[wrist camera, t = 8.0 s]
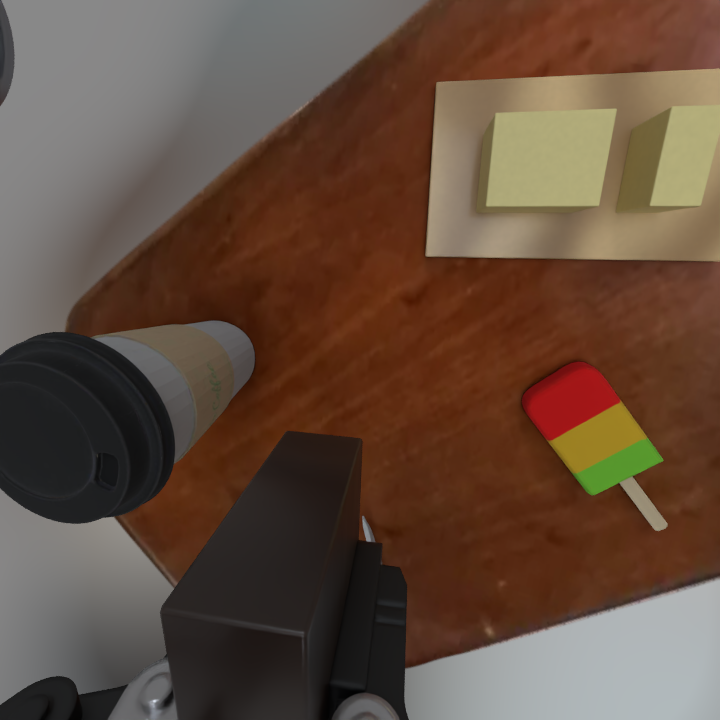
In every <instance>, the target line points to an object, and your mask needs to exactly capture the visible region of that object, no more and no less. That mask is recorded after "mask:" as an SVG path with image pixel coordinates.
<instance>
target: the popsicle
mask: <svg viewBox="0 0 720 720" xmlns="http://www.w3.org/2000/svg"><path fill="white" fill-rule="evenodd" d="M522 405H523V408H524V410H525V412H526V413H527V415H528V417H529V418H530V419H531V421H532V422H533V423H534V425H535V426H536V427H537V428H538V430H539V431H540V432H541V434H542V435H543V436H544V438H545V439H546V440H547V441H548V443H549V444H550V445H551V447H552V448H553V449H554V451H555V452H556V453H557V454H558V456H559V457H560V458H561V460H562V461H563V462H564V464H565V465H566V466H567V467H568V469H569V470H570V471H571V473H572V474H573V475H574V477H575V478H576V479H577V480H578V482H579V483H580V484H581V486H582V487H583V488H584V490H585V491H586V492H587V493H588V494H590V495H595V494H598V493H600V492H602V491H604V490H606V489H608V488H610V487H612V486H614V485H616V484H618V483H620V485H621V486H622V487H623V489H624V490H625V491H626V493H627V494H628V495H629V497H630V498H631V499H632V501H633V502H634V503H635V505H636V506H637V507H638V509H639V510H640V511H641V513H642V514H643V515H644V517H645V518H646V519H647V521H648V522H649V523H650V525H651V526H652V527H653V528H654V529H655V530H657V531H660V530H663V529H665V528H666V527H667V523H666V521H665V520H664V519H663V517H662V516H661V515H660V513H659V512H658V511H657V509H656V508H655V506H654V505H653V504H652V502H651V501H650V500H649V498H648V497H647V496H646V494H645V493H644V492H643V490H642V489H641V488H640V486H639V485H638V483H637V482H636V481H635V479H634V478H633V477H632V476H634V475H636V474H638V473H640V472H642V471H644V470H646V469H648V468H650V467H652V466H654V465H656V464H658V463H660V462H662V461H663V459H662V457H661V456H660V454H659V453H658V452H657V450H656V449H655V447H654V446H653V445H652V443H651V442H650V440H649V439H648V438H647V436H646V435H645V433H644V432H643V431H642V429H641V428H640V427H639V425H638V424H637V422H636V421H635V420H634V418H633V417H632V415H631V414H630V413H629V411H628V410H627V408H626V407H625V406H624V404H623V403H622V401H621V400H620V399H619V397H618V396H617V395H616V393H615V392H614V390H613V389H612V388H611V386H610V385H609V383H608V382H607V381H606V379H605V378H604V376H603V375H602V374H601V373H600V372H599V371H598V370H597V369H596V368H594V367H593V366H591V365H589V364H587V363H585V362H579V361H578V362H574V363H570V364H568V365H566V366H564V367H562V368H561V369H559V370H558V371H556V372H554V373H553V374H551V375H549V376H548V377H546V378H545V379H543V380H541V381H540V382H538V383H537V384H535V385H533V386H532V387H531V388H529V389H528V390H527V391H526V392H525V393H524V395H523V398H522Z"/></svg>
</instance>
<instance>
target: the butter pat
mask: <svg viewBox="0 0 720 720" xmlns="http://www.w3.org/2000/svg"><path fill="white" fill-rule="evenodd" d="M719 134H720V105H698V106H672V107H670V108H669V109H667V110H665V111H663V112H661V113H660V114H658V115H656V116H654V117H653V118H651V119H649V120H647V121H645V122H644V123H642V124H640V125H638V126H636V127H635V128H633V129H632V133H631V138H630V143H629V148H628V153H627V158H626V163H625V168H624V173H623V178H622V183H621V188H620V193H619V198H618V203H617V208H616V213H660V212H666V211H673V210H680V209H686V208H693V207H699V206H701V203H702V199H703V195H704V191H705V188H706V184H707V180H708V176H709V172H710V168H711V165H712V161H713V157H714V153H715V149H716V145H717V142H718V138H719Z"/></svg>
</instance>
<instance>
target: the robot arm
mask: <svg viewBox="0 0 720 720" xmlns="http://www.w3.org/2000/svg"><path fill="white" fill-rule="evenodd" d="M381 559H382V543H376V542H369V541H362V540H358V541H357V545H356V550H355V555H354V560H353V565H352V570H351V575H350V580H349V585H348V590H347V595H346V600H345V605H344V610H343V615H342V620H341V625H340V630H339V635H338V640H337V645H336V650H335V655H334V660H333V665H332V670H331V675H330V680H329V720H409V719H408V716H407V713H406V708H405V703H404V683H405V681H404V680H405V644H406V606H407V584H406V582H405V579H404V577H403V574H402V572H401V569H400V567H394V566H387V565H381ZM0 720H178V718H177V712H176V706H175V700H174V694H173V688H172V682H171V676H170V670H169V664H168V658H167V654H166V656H165V657H164V658H163V659H161V660H158V661H156V662H154V663H152V664H151V665H149V666H147V667H146V668H145V669H143V670H142V671H141V672H140V673H139V674H138V675H137V676H135V677H134V679H133V680H132V681H131V682H130V683H129V684H128V685H125V686H121V687H118V688H113V689H107V690H102V691H97V692H92V693H86V694H81V695H78V692H77V688H76V685H75V684H74V682H73V681H72V680H71V679H69V678H66V677H62V676H56V677H50V678H46V679H43V680H40V681H38V682H35V683H33V684H31V685H30V686H28V687H26V688H24V689H23V690H21V691H20V692H18V693H17V694H15V695H14V696H13V697H11V698H10V699H8V700H7V701H5V702H4V703H2V704H1V705H0Z"/></svg>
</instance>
